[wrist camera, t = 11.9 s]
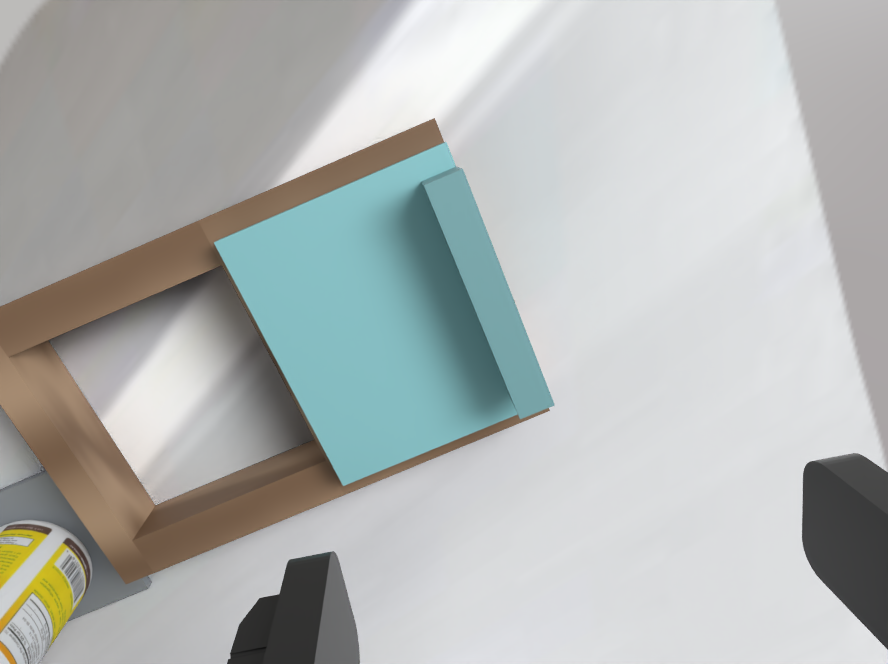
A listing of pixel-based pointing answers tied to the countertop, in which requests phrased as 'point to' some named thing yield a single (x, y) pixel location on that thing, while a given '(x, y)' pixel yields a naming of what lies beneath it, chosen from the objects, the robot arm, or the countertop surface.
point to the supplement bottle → (38, 587)
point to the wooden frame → (89, 444)
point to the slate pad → (50, 505)
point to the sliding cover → (389, 314)
